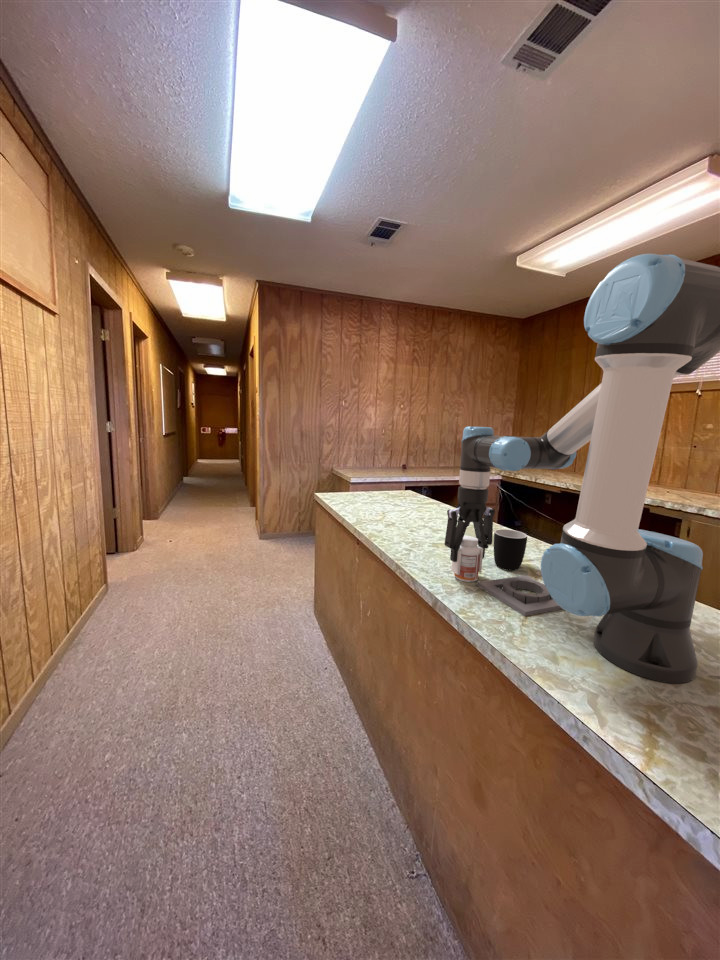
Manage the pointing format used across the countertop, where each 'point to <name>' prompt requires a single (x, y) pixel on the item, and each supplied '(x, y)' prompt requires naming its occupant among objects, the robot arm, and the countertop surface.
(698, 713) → the countertop surface
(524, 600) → the grey plate with hole
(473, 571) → the pill bottle
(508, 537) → the mug
